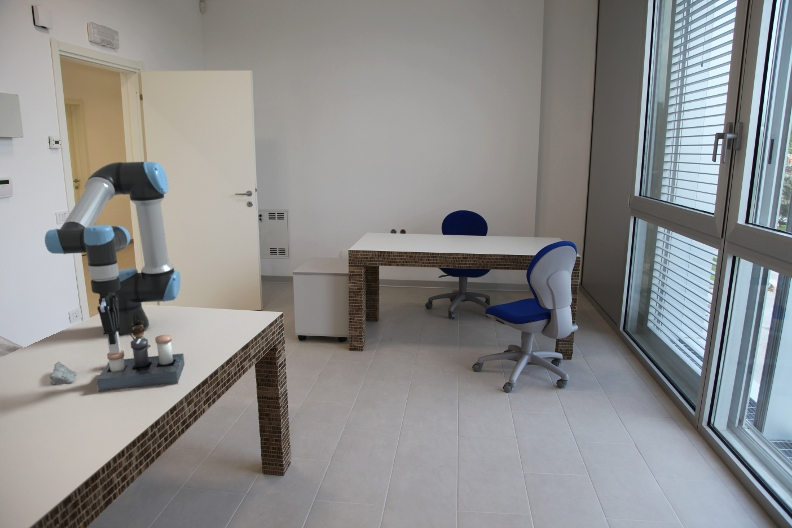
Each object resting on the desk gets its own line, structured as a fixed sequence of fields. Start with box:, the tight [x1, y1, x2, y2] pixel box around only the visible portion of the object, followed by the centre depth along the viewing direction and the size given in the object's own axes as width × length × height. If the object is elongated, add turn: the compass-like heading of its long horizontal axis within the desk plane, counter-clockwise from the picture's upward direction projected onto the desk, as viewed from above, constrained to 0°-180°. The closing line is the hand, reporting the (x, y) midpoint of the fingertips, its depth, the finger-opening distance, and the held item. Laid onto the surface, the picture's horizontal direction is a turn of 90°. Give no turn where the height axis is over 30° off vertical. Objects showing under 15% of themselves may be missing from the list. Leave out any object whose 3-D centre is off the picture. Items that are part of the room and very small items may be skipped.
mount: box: [96, 353, 185, 393], centre depth 163 cm, size 14×22×4 cm, turn 104°
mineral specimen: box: [50, 361, 77, 385], centre depth 164 cm, size 6×12×4 cm, turn 26°
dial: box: [129, 337, 149, 367], centre depth 162 cm, size 5×5×8 cm
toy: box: [129, 321, 151, 350], centre depth 174 cm, size 6×6×15 cm
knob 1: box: [106, 350, 125, 372], centre depth 161 cm, size 5×5×8 cm
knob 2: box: [154, 334, 173, 365], centre depth 163 cm, size 5×5×8 cm
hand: (115, 352), depth 160 cm, fingers closed
